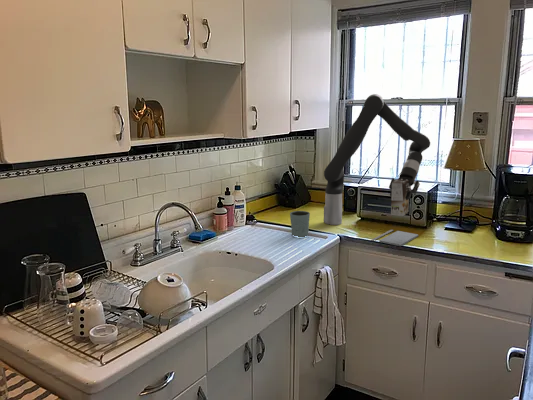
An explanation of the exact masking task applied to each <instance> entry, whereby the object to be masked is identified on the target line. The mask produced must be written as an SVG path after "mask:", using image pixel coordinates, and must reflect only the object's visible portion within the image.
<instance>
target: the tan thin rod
mask: <svg viewBox="0 0 533 400" xmlns="http://www.w3.org/2000/svg"><path fill="white" fill-rule="evenodd" d="M393 232H394V229H389V230H387V231H386V232H384V233H382V234H380V235H377V236H375V237H374V238H371V239H370V242H375V241H376V239H377V240H380V238H381V239H382V237H383V238H384V236H385V237H386V235H387V236H388V235H389V234H390V233H393ZM374 240H375V241H374Z"/></svg>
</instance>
